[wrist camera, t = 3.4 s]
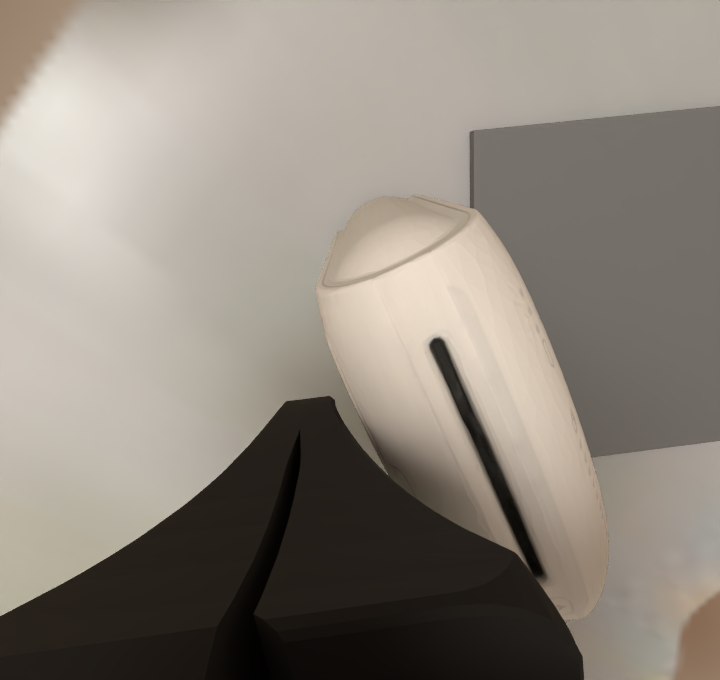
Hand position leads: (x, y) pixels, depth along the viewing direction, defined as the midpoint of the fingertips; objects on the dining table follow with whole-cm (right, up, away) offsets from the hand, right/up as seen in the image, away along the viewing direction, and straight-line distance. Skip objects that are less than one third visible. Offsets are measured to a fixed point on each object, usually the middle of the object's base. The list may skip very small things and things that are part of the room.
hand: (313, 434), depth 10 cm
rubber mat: (+13, +4, +10) cm, 17 cm away
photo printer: (+4, +4, +9) cm, 10 cm away
